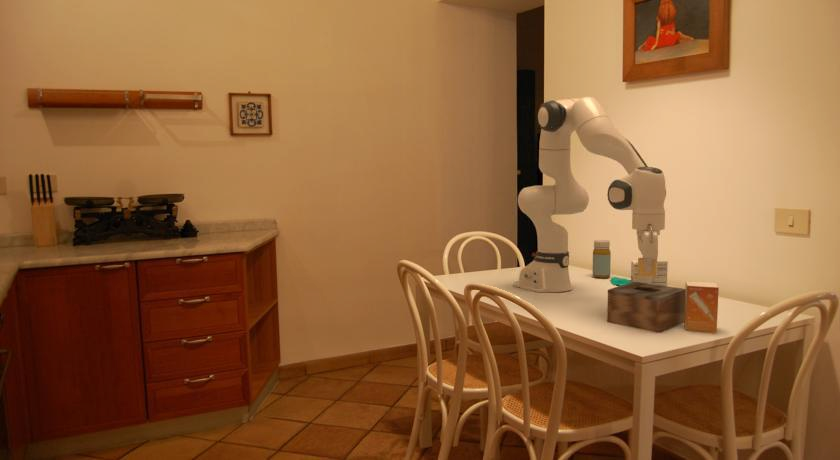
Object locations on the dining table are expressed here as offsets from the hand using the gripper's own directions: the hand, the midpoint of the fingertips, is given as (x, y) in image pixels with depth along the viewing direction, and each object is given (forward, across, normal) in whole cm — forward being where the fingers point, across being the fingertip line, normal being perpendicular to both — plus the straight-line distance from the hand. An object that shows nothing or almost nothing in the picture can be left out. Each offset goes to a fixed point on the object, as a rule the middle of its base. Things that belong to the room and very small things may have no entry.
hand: (647, 270), depth 170 cm
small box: (+16, -4, -14) cm, 22 cm away
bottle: (+15, +69, +12) cm, 72 cm away
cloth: (+16, +55, +3) cm, 58 cm away
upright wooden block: (+2, 0, 0) cm, 2 cm away
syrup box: (+16, +24, 0) cm, 28 cm away
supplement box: (+16, +40, -6) cm, 44 cm away
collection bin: (+16, 0, 0) cm, 16 cm away
